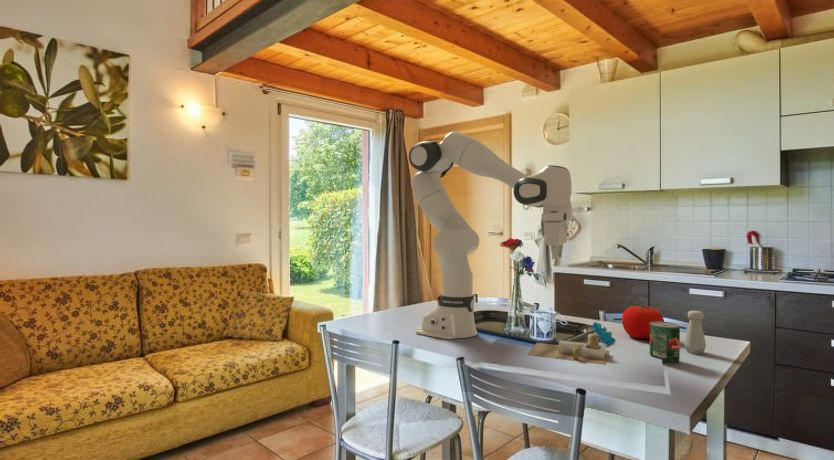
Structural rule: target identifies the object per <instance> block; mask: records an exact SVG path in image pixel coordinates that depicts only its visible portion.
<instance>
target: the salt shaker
mask: <svg viewBox="0 0 834 460" xmlns="http://www.w3.org/2000/svg"><path fill="white" fill-rule="evenodd" d="M687 318H688V319H689V322H688V326H687V329H686V330H687V331H686V335H685V339H684V347H685V349H686V351H687V353H690V354H691V355H692V354H693V355H702V354H703V353H704V352H705V349H706V347H707V345H706V339H705V334H704V328H703V324H702V320H703V319H704V312H702V311H699V310H689V311H688V312H687Z"/></svg>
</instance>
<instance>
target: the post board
mask: <svg viewBox="0 0 834 460" xmlns="http://www.w3.org/2000/svg"><path fill="white" fill-rule="evenodd" d="M587 343H588V348H592V349H599V345H600V341H599V335H597V333H589V334H587ZM558 351H559V344H554V343H553V344H552V343H551V344H550V343H543V342H536V343H535V344H534V346H532V348H531V349H530V350H529V352H527V354H526V356H533V357H539V358H548V359H550V358H551V359H557V360H564V361H565V360H566V361H573V362H582V363H588V364H589V363H590V364H597V365H607V362H608V358H609V353H610V350H607V349H606V354H605V358H604V359H596V358H587V357H581V355H579V349H573V354H567V353H558Z"/></svg>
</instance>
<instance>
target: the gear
mask: <svg viewBox="0 0 834 460" xmlns="http://www.w3.org/2000/svg"><path fill="white" fill-rule="evenodd" d="M602 326H603V325H602V324H601V323H600V322H598V323H597V321H594V322H593V323H592V325H591V327H592V328H593V329H592V330H593V332H594V333H595V334H597V335H599V342H600V341H601V342H602V344H604V345H606V344H607V346H612V345H613V344H614V343H615V342H616V339H615V338H614V337H613V335H612V334H613V332H612V331H610V330H609V331H607V330H608V328H606V327H605V326H603V327H602Z"/></svg>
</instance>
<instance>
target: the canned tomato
mask: <svg viewBox="0 0 834 460" xmlns="http://www.w3.org/2000/svg"><path fill="white" fill-rule="evenodd" d="M680 332H681V325H680V324H678V323H675V322H670V321H664V322H662V321H655V322H650V338H649V356H650V357H652V358H655V359H659V360H661V362H662V363H661V364H662V365H666V366H676V365H680V363H681V362H680V357H681V356H680V355H681V353H680V352H681V351H680V349H681V348H680V347H681V346H680V345H681V339H680V338H681V333H680Z"/></svg>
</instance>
